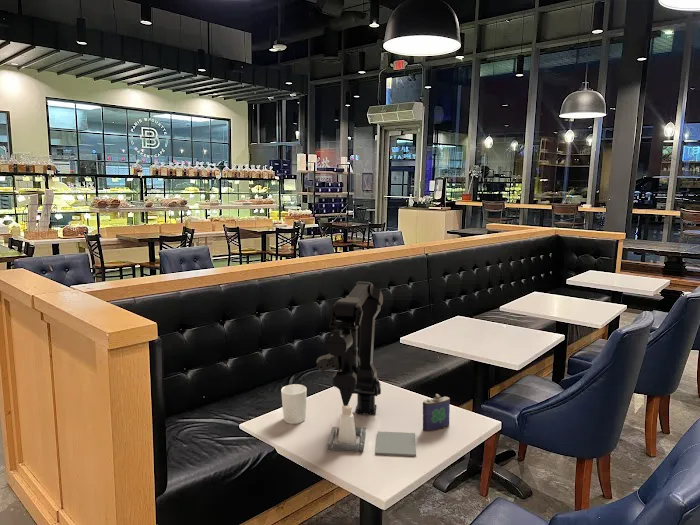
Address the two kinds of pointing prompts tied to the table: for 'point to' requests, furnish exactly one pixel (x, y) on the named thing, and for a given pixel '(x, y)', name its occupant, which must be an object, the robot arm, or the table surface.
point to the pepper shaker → (347, 426)
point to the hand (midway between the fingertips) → (347, 398)
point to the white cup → (294, 403)
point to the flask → (436, 413)
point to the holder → (346, 445)
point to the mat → (396, 444)
